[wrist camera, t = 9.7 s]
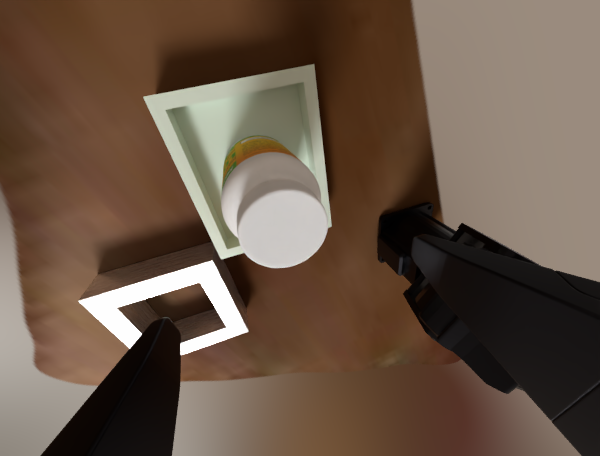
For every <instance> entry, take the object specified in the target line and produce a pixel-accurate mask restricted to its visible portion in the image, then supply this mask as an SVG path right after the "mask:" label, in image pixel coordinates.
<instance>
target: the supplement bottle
mask: <svg viewBox="0 0 600 456" xmlns="http://www.w3.org/2000/svg"><path fill="white" fill-rule="evenodd" d="M221 208H222V213H223V217H224V220H225V222H226V224H227V226H228V227H229V229H230V230H231V232H232V233H233V234H234V235H235V236H236V237H237V238H238V240H239V243H240V246H241V248H242V250H243V251H244V253H245V254H246V255H247V256H248V257H249V258H250V259H251V260H253V261H254V262H256V263H258V264H260V265H263V266H266V267H270V268H286V267H290V266H294V265H297V264H299V263H301V262H303V261H305V260H307V259H308V258H309V257H311V256H312V255H313V254H314V253H315V252H316V251H317V250H318V249H319V248H320V246H321V245H322V243H323V241H324V239H325V237H326V234H327V230H328V217H327V213H326V211H325V208H324V206H323V205H322V203H321V192H320V187H319V184H318V182H317V180H316V178H315V176H314V175H313V173H312V172H311V171H310V169H309V168H308V167H307V166H306V165H305V164H304V163H303V162H302V161H301V160H299V159H298V158H297V157H296V156H295V155H294V154H293V153H291V152H290V151H289V150H288V149H287V148H286V147H285V146H284V145H283V144H282V143H280V142H279V141H277V140H276V139H274V138H271V137H268V136H264V135H251V136H247V137H245V138H242V139H240V140H239V141H237V142H236V143H235V144H234V145H233V146H232V147H231V148H230V150H229V151H228V153H227V155H226V157H225V160H224V166H223V180H222V194H221Z"/></svg>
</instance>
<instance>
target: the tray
mask: <svg viewBox="0 0 600 456" xmlns="http://www.w3.org/2000/svg"><path fill="white" fill-rule="evenodd" d="M143 98H144V100H145V102H146V104H147V106H148V108H149V110H150V112H151V115H152V117H153V119H154V121H155V123H156V125H157V127H158V129H159V131H160V133H161V135H162V138H163V140H164V142H165V144H166V146H167V148H168V150H169V152H170V154H171V156H172V158H173V160H174V163H175V165H176V167H177V169H178V171H179V173H180V175H181V177H182V179H183V181H184V183H185V186H186V188H187V190H188V192H189V194H190V196H191V198H192V200H193V202H194V204H195V206H196V208H197V211H198V213H199V215H200V217H201V219H202V221H203V223H204V225H205V227H206V229H207V231H208V234H209V236H210V238H211V240H212V242H213V244H214V246H215V248H216V250H217V252H218V254H219V256H220V259H221V260H222V259H225V258H228V257H232V256H235V255H238V254H242V253H244V251H243V250H242V248H241V246H240V243H239V240H238V238H237V237H236V236H235V235H234V234H233V233H232V232H231V230H230V229H229V227H228V226H227V224H226V222H225V220H224V217H223V213H222V208H221V194H222V180H223V166H224V160H225V157H226V155H227V153H228V151H229V150H230V148H231V147H232V146H233V145H234V144H235V143H236V142H237V141H239V140H240V139H242V138H245V137H247V136H251V135H264V136H268V137H271V138H274V139H276V140H277V141H279V142H280V143H282V144H283V145H284V146H285V147H286V148H287V149H288V150H289V151H290V152H291V153H293V154H294V155H295V156H296V157H297V158H298V159H299V160H301V161H302V162H303V163H304V164H305V165H306V166H307V167H308V168H309V169H310V171H311V172H312V173H313V175H314V176H315V178H316V180H317V182H318V184H319V187H320V192H321V203H322V205H323V206H324V208H325V211H326V213H327V217H328V227H331V226H332V225H331V216H330V207H329V197H328V188H327V179H326V169H325V160H324V151H323V141H322V132H321V123H320V113H319V104H318V95H317V85H316V76H315V67H314V64H312V65H306V66H301V67H296V68H291V69H286V70H280V71H275V72H270V73H265V74H260V75H254V76H249V77H244V78H239V79H234V80H228V81H223V82H218V83H213V84H208V85H202V86H197V87H192V88H187V89H182V90H176V91H171V92H166V93H161V94H155V95H150V96H145V97H143Z"/></svg>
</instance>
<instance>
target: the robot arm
mask: <svg viewBox="0 0 600 456" xmlns="http://www.w3.org/2000/svg"><path fill="white" fill-rule="evenodd" d="M432 212H433V204H432V203H430V202H427V203H424V204H421V205H417V206H414V207H411V208H407V209H404V210H401V211H398V212H394V213H391V214H388V215H384V216H382V217H381V218H380V219H379V235H378V248H377V253H378V260H379V261H380V262H381V263H383V262H386V263H387V264H388V265H389V266H390V267H391V268H392V269H393V270H394V271H395V272H396V273H397V274H398V275H399V276H401V275H403V276H404V277H405V278H406V279H407V280H408V281H409V282H410V283H411V284H412V285H411V286H410V287H409V288H408V290H406V291H405V292H404V293H403V295H404V296H405V298H406V300H407V302H408V304H409V305H410V307H411V309H412V310H413V312H414V314H415V315H416V317H417V319H418V320H419V322H420V324H421V325H422V327H423V329H424V330H425V332H426V333H427V334H428V335H429V336H430V337H431V338H432V339H433V340H434V341H437V342H438V343H439V344H441V345H442V346H443V347H445V348H447V349H448V350H450V351H453V352H454V353H455V354H456V355H458V356H459V357H460V358H461V359H462V360H463V361H465V363H466V364H468V366H469V367H470V368H471V369H472V370H473V371H474V372H475V373H476V374H477V375H478V376H479V377H480V378H481V379H482V380H483V381H484V382H485V383H486V384H488V385H490V386H492V387H494V388H496V389H498V390H499V391H501V392H503V393H506V394H509V393H510V392H511V391H513V390H514V389H515V388H517V389H520V390H523V391H525V392H526V393H527V395H529V397H530V398H531V399H532V400H533V401H534V402H535V403H536V405H537V406H538V407H539V408H540V409H541V410H542V411H543V413H544V414H545V415H546V416H547V417H548V418H549V419H550V420H551V421H552V423H553V424H554V425H555V426H556V427H557V429H559V431H560V432H561V433H562V434H563V435H564V436H565V438H566V439H567V440H568V441H569V442H570V443H571V444H572V445H573V447H574V448H575V449H576V450H577V451H578V452H579V453H580V454H581V456H600V282H597V281H593V280H589V279H586V278H582V277H578V276H574V275H571V274H567V273H564V272H560V271H554V270H552V269H549V268H546V267H543V266H541V265H539V264H537V263H535V262H533V261H532V260H530V259H528V258H526V257H524V256H523V255H521V254H519V253H518V252H516V251H514V250H512V249H510V248H509V247H507V246H505V245H503V244H501V243H499V242H497V241H496V240H494V239H492V238H490V237H488V236H486V235H484V234H483V233H481V232H479V231H477V230H475V229H473V228H471V227H469V226H467V225H465V224H463V223H461V225H460V226H459V227H458V228H459V229H458V230H457V231H455V230H453V229H451V228H449V227H448V226H446V225H445V224H443V223H441V222H440V221H438V220H436V219H435V218H433V217H432ZM384 220H385V221H384ZM180 373H181V334H180V331H179V330H178V328H177V327H176V326H175V325H174V323H173V322H172V321H171V320H170V318H168V317H163V318H160V319H157V320H154V321H153V322H152V323H151V324H150V325H149V326H148V327H147V328H146V330H145V331H144V332H143V333H142V334H141V336H140V337H139V338H138V339H137V340H136V342H135V343H134V344H133V345H132V346H131V348H130V349H129V350H128V351H127V352H126V354H125V355H124V356H123V357H122V358H121V360H120V361H119V362H118V363H117V364H116V366H115V367H114V368H113V369H112V370H111V372H110V373H109V374H108V375H107V376H106V378H105V379H104V380H103V381H102V382H101V384H100V385H99V386H98V387H97V389H96V390H95V391H94V392H93V393H92V394H91V396H90V397H89V398H88V399H87V400H86V402H85V403H84V404H83V405H82V407H81V408H80V409H79V410H78V411H77V413H76V414H75V415H74V416H73V418H72V419H71V420H70V421H69V422H68V423H67V425H66V426H65V427H64V428H63V429H62V431H61V432H60V433H59V434H58V435H57V437H56V438H55V439H54V440H53V441H52V443H51V444H50V445H49V446H48V447H47V448H46V450H45V451H44V452H43V453H42V455H41V456H172V450H173V441H174V433H175V425H176V416H177V408H178V401H179V391H180Z"/></svg>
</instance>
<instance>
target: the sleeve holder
mask: <svg viewBox="0 0 600 456" xmlns="http://www.w3.org/2000/svg"><path fill="white" fill-rule="evenodd" d="M198 282H200V283H201V285H202V286H203V288H204V290H205V292H206V293H207V295H208V297H209V298H210V300H211V302H212V303H213V305H214V307H215V308H214V309H211V310H208V311H205V312H202V313H199V314H196V315H193V316H190V317H187V318H184V319H181V320H178V321H175V322H173V323H174V325H175V326H176V327H177V328H178V330H179V331H180V334H181V355H183V354H186V353H189V352H192V351H194V350H197V349H200V348H203V347H206V346H209V345H212V344H214V343H217V342H220V341H223V340H226V339H229V338H231V337H234V336H237V335H240V334H243V333H246V332H248V320H247V309H246V307H245V304H244V302H243V300H242V298H241V296H240V294H239V292H238V290H237V288H236V285H235V283H234V281H233V279H232V277H231V275H230V273H229V271H228V268H227V266H226V264H225V262H224V260H223V259H222V260H221V259H220V256H219V254H218V252H217V250H216V248H215V246H214V244H213V242H208V243H205V244H201V245H198V246H194V247H191V248H187V249H184V250H180V251H177V252H173V253H170V254H167V255H163V256H160V257H156V258H153V259H149V260H146V261H142V262H139V263H135V264H132V265H128V266H125V267H121V268H118V269H114V270H111V271H108V272H104V273H101V274H98V275H97V276H96V277H95V279H94V280H93V281H92V283H91V284H90V285H89V287H88V288H87V290H86V291H85V292H84V294H83V295H82V296H81V298H80V299H79V302H80V303H81V304H82V305H83V306H84V307H85V308H86V309H87V310H88V311H89V312H91V313H92V314H93V315H94V316H95V317H96V318H97V319H98V320H99V321H100V322H101V323H103V324H104V325H105V326H106V327H107V328H108V329H109V330H110V331H111V332H112V333H113V334H115V335H116V336H117V337H118V338H119V339H120V340H121V341H122V342H123V343H124V344H125V345H127V346H128V347H129V348H131V346H132V345H133V344H134V343H135V342H136V340H137V339H138V338H139V337H140V336H141V334H142V333H143V332H144V331H145V330H146V328H147V327H148V326H149V325H150V324H151V323H152V322H153V321H154V320H157V319H160V317H159V316H158V315H157V314H156V312H155V311H154V310H153V309H152V308H151V306H150V305H149V304H148V303H147V302H146V300H145V299H146V298H150V297H153V296H156V295H159V294H163V293H166V292H169V291H172V290H175V289H179V288H182V287H185V286H188V285H192V284H195V283H198Z"/></svg>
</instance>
